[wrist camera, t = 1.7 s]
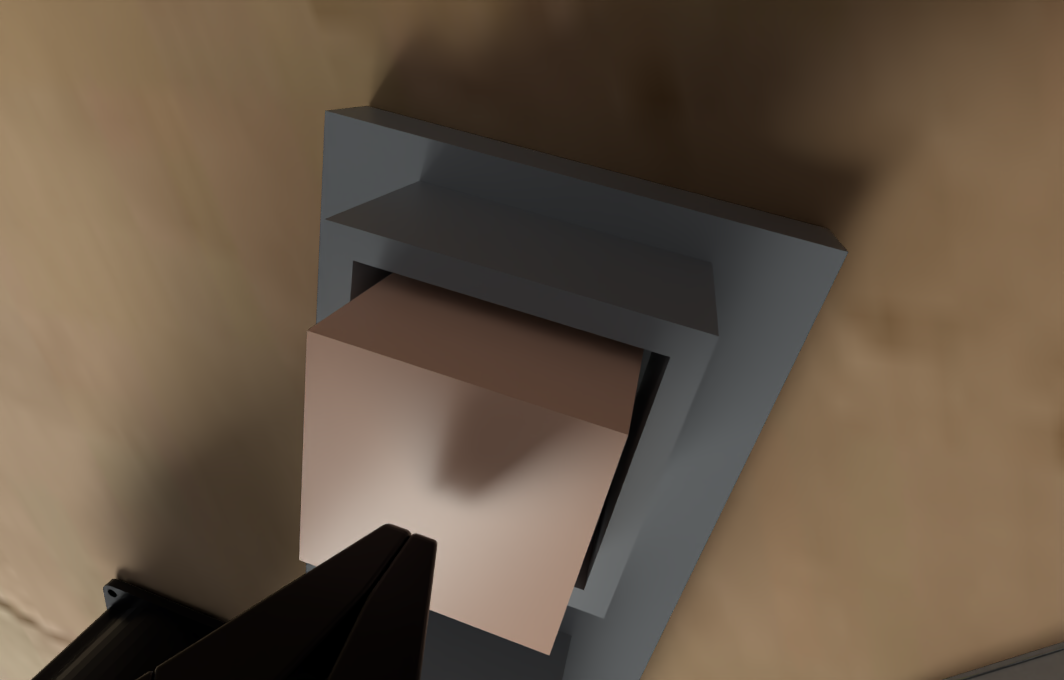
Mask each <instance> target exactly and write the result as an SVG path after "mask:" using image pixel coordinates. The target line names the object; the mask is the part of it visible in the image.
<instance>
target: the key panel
mask: <svg viewBox="0 0 1064 680" xmlns="http://www.w3.org/2000/svg"><path fill="white" fill-rule="evenodd" d="M847 254H848V251H847V250H846V249H845V248H844V247H843V245H842V244H841V243H840V242H839V241H838V239H837V238H836V237H835V236H834V235H833V234H832V232H831V231H830V230H829V229H827V228H823V227H820V226H816V225H812V224H808V223H805V222H801V221H797V220H793V219H790V218H786V217H782V216H778V215H775V214H771V213H767V212H763V211H760V210H756V209H752V208H748V207H745V206H741V205H737V204H733V203H730V202H726V201H722V200H718V199H715V198H711V197H707V196H703V195H700V194H696V193H692V192H688V191H685V190H681V189H677V188H673V187H670V186H666V185H662V184H658V183H655V182H651V181H647V180H643V179H640V178H636V177H632V176H628V175H625V174H621V173H617V172H613V171H610V170H606V169H602V168H598V167H595V166H591V165H587V164H583V163H580V162H576V161H572V160H568V159H565V158H561V157H557V156H553V155H550V154H546V153H542V152H538V151H535V150H531V149H527V148H523V147H520V146H516V145H512V144H508V143H505V142H501V141H497V140H493V139H490V138H486V137H482V136H478V135H474V134H471V133H467V132H463V131H459V130H456V129H452V128H448V127H444V126H441V125H437V124H433V123H429V122H426V121H422V120H418V119H414V118H411V117H407V116H403V115H399V114H396V113H392V112H388V111H384V110H381V109H377V108H373V107H369V106H363V107H354V108H345V109H336V110H327V111H325V127H324V150H323V174H322V198H321V222H320V246H319V269H318V293H317V317H316V324H317V323H319V322H320V321H322V320H323V319H325V318H326V317H328V316H329V315H331V314H332V313H334V312H335V311H337V310H338V309H340V308H341V307H343V306H344V305H346V304H347V303H349V302H350V301H352V300H353V299H355V298H356V297H358V296H359V295H360V294H362V293H363V292H365V291H366V290H368V289H369V288H371V287H372V286H374V285H375V284H377V283H378V282H380V281H381V280H383V279H384V278H386V277H387V276H389V275H390V274H392V273H396V274H399V275H403V276H406V277H409V278H412V279H416V280H419V281H422V282H426V283H429V284H432V285H435V286H439V287H442V288H445V289H449V290H452V291H455V292H458V293H462V294H465V295H468V296H471V297H475V298H478V299H481V300H485V301H488V302H491V303H494V304H498V305H501V306H504V307H508V308H511V309H514V310H517V311H521V312H524V313H527V314H531V315H534V316H537V317H540V318H544V319H547V320H550V321H554V322H557V323H560V324H563V325H567V326H570V327H573V328H576V329H580V330H583V331H586V332H590V333H593V334H596V335H599V336H603V337H606V338H609V339H613V340H616V341H619V342H622V343H626V344H629V345H632V346H636V347H639V348H642V349H644V351H643V356H642V362H641V367H640V373H639V378H638V384H637V389H636V395H635V400H634V406H633V412H632V417H631V423H630V428H629V434H628V437H627V440H626V443H625V446H624V448H623V451H622V454H621V457H620V460H619V462H618V465H617V468H616V471H615V473H614V476H613V479H612V482H611V485H610V487H609V490H608V493H607V496H606V499H605V501H604V504H603V507H602V510H601V513H600V515H599V518H598V521H597V524H596V527H595V529H594V532H593V535H592V538H591V541H590V543H589V546H588V549H587V552H586V555H585V557H584V560H583V563H582V566H581V569H580V571H579V574H578V577H577V580H576V582H575V585H574V588H573V591H572V594H571V596H570V599H569V602H568V605H567V608H566V610H565V613H564V616H563V619H562V622H561V624H560V627H559V630H558V633H557V636H556V638H555V641H554V644H553V647H552V650H551V652H550V655H547V654H544V653H542V652H539V651H536V650H534V649H531V648H529V647H526V646H523V645H521V644H518V643H515V642H513V641H510V640H508V639H505V638H502V637H500V636H497V635H494V634H492V633H489V632H487V631H484V630H481V629H479V628H476V627H474V626H471V625H468V624H466V623H463V622H460V621H458V620H455V619H453V618H450V617H447V616H445V615H442V614H439V613H437V612H434V611H432V610H429V617H428V625H427V633H426V641H425V649H424V657H423V664H422V672H421V680H640V678H641V676H642V674H643V672H644V669H645V667H646V665H647V663H648V661H649V659H650V657H651V655H652V653H653V651H654V649H655V647H656V645H657V643H658V641H659V639H660V637H661V635H662V633H663V631H664V628H665V626H666V624H667V622H668V620H669V618H670V616H671V614H672V612H673V610H674V608H675V606H676V604H677V602H678V600H679V598H680V596H681V594H682V592H683V590H684V588H685V585H686V583H687V581H688V579H689V577H690V575H691V573H692V571H693V569H694V567H695V565H696V563H697V561H698V559H699V557H700V555H701V553H702V551H703V549H704V547H705V544H706V542H707V540H708V538H709V536H710V534H711V532H712V530H713V528H714V526H715V524H716V522H717V520H718V518H719V516H720V514H721V512H722V510H723V508H724V506H725V504H726V501H727V499H728V497H729V495H730V493H731V491H732V489H733V487H734V485H735V483H736V481H737V479H738V477H739V475H740V473H741V471H742V469H743V467H744V465H745V463H746V460H747V458H748V456H749V454H750V452H751V450H752V448H753V446H754V444H755V442H756V440H757V438H758V436H759V434H760V432H761V430H762V428H763V426H764V424H765V422H766V420H767V417H768V415H769V413H770V411H771V409H772V407H773V405H774V403H775V401H776V399H777V397H778V395H779V393H780V391H781V389H782V387H783V385H784V383H785V381H786V379H787V376H788V374H789V372H790V370H791V368H792V366H793V364H794V362H795V360H796V358H797V356H798V354H799V352H800V350H801V348H802V346H803V344H804V342H805V340H806V338H807V336H808V333H809V331H810V329H811V327H812V325H813V323H814V321H815V319H816V317H817V315H818V313H819V311H820V309H821V307H822V305H823V303H824V301H825V299H826V297H827V295H828V292H829V290H830V288H831V286H832V284H833V282H834V280H835V278H836V276H837V274H838V272H839V270H840V268H841V266H842V264H843V262H844V260H845V258H846V256H847ZM315 567H316V566H314V565H311V564H309V563H306V573H307V572H309V571H310V570H312V569H313V568H315Z"/></svg>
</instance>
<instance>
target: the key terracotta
mask: <svg viewBox="0 0 1064 680" xmlns="http://www.w3.org/2000/svg"><path fill="white" fill-rule="evenodd" d="M643 351H644V349H642V348H639V347H636V346H632V345H629V344H626V343H622V342H619V341H616V340H613V339H609V338H606V337H603V336H599V335H596V334H593V333H590V332H586V331H583V330H580V329H576V328H573V327H570V326H567V325H563V324H560V323H557V322H554V321H550V320H547V319H544V318H540V317H537V316H534V315H531V314H527V313H524V312H521V311H517V310H514V309H511V308H508V307H504V306H501V305H498V304H494V303H491V302H488V301H485V300H481V299H478V298H475V297H471V296H468V295H465V294H462V293H458V292H455V291H452V290H449V289H445V288H442V287H439V286H435V285H432V284H429V283H426V282H422V281H419V280H416V279H412V278H409V277H406V276H403V275H399V274H396V273H392V274H390V275H389V276H387V277H386V278H384V279H383V280H381V281H380V282H378V283H377V284H375V285H374V286H372V287H371V288H369V289H368V290H366V291H365V292H363V293H362V294H360V295H359V296H358V297H356V298H355V299H353V300H352V301H350V302H349V303H347V304H346V305H344V306H343V307H341V308H340V309H338V310H337V311H335V312H334V313H332V314H331V315H329V316H328V317H326V318H325V319H323V320H322V321H320V322H319V323H317V324H316V325H314V326H313V327H311V328H310V329H308V330H307V343H306V373H305V402H304V432H303V461H302V491H301V520H300V550H299V560H301V561H303V562H306V563H309V564H311V565H314V566H316V567H317V566H318V565H320V564H321V563H323V562H325V561H326V560H328V559H329V558H331V557H333V556H334V555H336V554H337V553H339V552H341V551H342V550H344V549H345V548H347V547H349V546H350V545H352V544H353V543H355V542H356V541H358V540H360V539H361V538H363V537H364V536H366V535H368V534H369V533H371V532H372V531H374V530H376V529H377V528H379V527H380V526H382V525H384V524H388V523H389V524H393V525H396V526H399V527H401V528H404V529H407V530H409V531H410V532H411V535H412V534H414V533H418V534H421V535H423V536H426V537H429V538H432V539H434V540H436V541H437V553H436V561H435V569H434V577H433V585H432V593H431V601H430V609H429V610H432V611H434V612H437V613H439V614H442V615H445V616H447V617H450V618H453V619H455V620H458V621H460V622H463V623H466V624H468V625H471V626H474V627H476V628H479V629H481V630H484V631H487V632H489V633H492V634H494V635H497V636H500V637H502V638H505V639H508V640H510V641H513V642H515V643H518V644H521V645H523V646H526V647H529V648H531V649H534V650H536V651H539V652H542V653H544V654H547V655H550V652H551V650H552V647H553V644H554V641H555V638H556V636H557V633H558V630H559V627H560V624H561V622H562V619H563V616H564V613H565V610H566V608H567V605H568V602H569V599H570V596H571V594H572V591H573V588H574V585H575V582H576V580H577V577H578V574H579V571H580V569H581V566H582V563H583V560H584V557H585V555H586V552H587V549H588V546H589V543H590V541H591V538H592V535H593V532H594V529H595V527H596V524H597V521H598V518H599V515H600V513H601V510H602V507H603V504H604V501H605V499H606V496H607V493H608V490H609V487H610V485H611V482H612V479H613V476H614V473H615V471H616V468H617V465H618V462H619V460H620V457H621V454H622V451H623V448H624V446H625V443H626V440H627V437H628V434H629V428H630V423H631V417H632V412H633V406H634V400H635V395H636V389H637V384H638V378H639V373H640V367H641V362H642V356H643Z"/></svg>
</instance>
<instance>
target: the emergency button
mask: <svg viewBox="0 0 1064 680" xmlns="http://www.w3.org/2000/svg"><path fill="white" fill-rule="evenodd" d="M943 680H1064V642H1062V643H1058V644H1055V645H1052V646H1049V647H1046V648H1042V649H1039V650H1036V651H1033V652H1030V653H1026V654H1023V655H1020V656H1017V657H1014V658H1010V659H1007V660H1004V661H1001V662H998V663H994V664H991V665H988V666H985V667H982V668H978V669H975V670H972V671H969V672H966V673H962V674H959V675H956V676H953V677H950V678H946V679H943Z"/></svg>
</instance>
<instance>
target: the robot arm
mask: <svg viewBox="0 0 1064 680" xmlns="http://www.w3.org/2000/svg"><path fill="white" fill-rule="evenodd" d="M436 553H437V541H436V540H434V539H432V538H429V537H426V536H423V535H421V534H418V533H414V534H412V535H411V532H410V531H409V530H407V529H404V528H401V527H399V526H396V525H393V524H389V523H388V524H384V525H382V526H380V527H379V528H377V529H376V530H374V531H372V532H371V533H369V534H368V535H366V536H364V537H363V538H361V539H360V540H358V541H356V542H355V543H353V544H352V545H350V546H349V547H347V548H345V549H344V550H342V551H341V552H339V553H337V554H336V555H334V556H333V557H331V558H329V559H328V560H326V561H325V562H323V563H321V564H320V565H318V566H317V567H315V568H313V569H312V570H310V571H309V572H307V573H305V574H304V575H302V576H301V577H299V578H298V579H296V580H294V581H293V582H291V583H290V584H288V585H286V586H285V587H283V588H282V589H280V590H278V591H277V592H275V593H274V594H272V595H270V596H269V597H267V598H266V599H264V600H262V601H261V602H259V603H258V604H256V605H254V606H253V607H251V608H250V609H248V610H247V611H245V612H243V613H242V614H240V615H239V616H237V617H235V618H234V619H232V620H231V621H229V622H227V623H226V624H225V623H224V622H222V621H219V620H217V619H214V618H212V617H210V616H207V615H205V614H202V613H200V612H197V611H195V610H192V609H190V608H187V607H185V606H182V605H180V604H177V603H175V602H172V601H170V600H167V599H165V598H163V597H160V596H158V595H155V594H153V593H150V592H148V591H145V590H143V589H140V588H138V587H135V586H133V585H130V584H128V583H125V582H123V581H121V580H118V579H112V580H111V581H110V582H109V583H107V584H106V585H105V586H104V587H103V592H104V597H105V602H106V607H107V610H106V611H105V612H104V613H103V614H102V615H101V616H100V617H99V618H98V619H97V620H95V621H94V622H93V623H92V624H91V625H90V626H89V627H88V628H87V629H86V630H85V631H83V632H82V633H81V634H80V635H79V636H78V637H77V638H76V639H75V640H74V641H73V642H72V643H70V644H69V645H68V646H67V647H66V648H65V649H64V650H63V651H62V652H61V653H60V654H58V655H57V656H56V657H55V658H54V659H53V660H52V661H51V662H50V663H49V664H48V665H47V666H45V667H44V668H43V669H42V670H41V671H40V672H39V673H38V674H37V675H36V676H35V677H33V678H32V679H31V680H421V672H422V664H423V657H424V649H425V641H426V633H427V625H428V617H429V609H430V601H431V593H432V585H433V577H434V569H435V561H436Z"/></svg>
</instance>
